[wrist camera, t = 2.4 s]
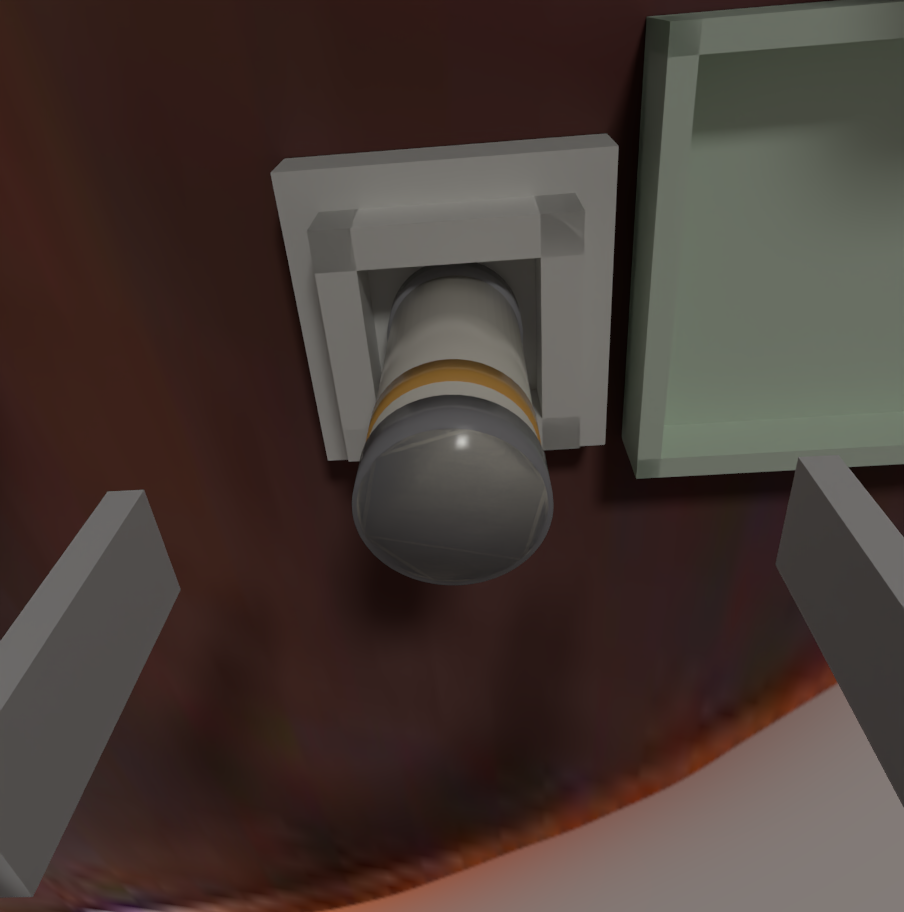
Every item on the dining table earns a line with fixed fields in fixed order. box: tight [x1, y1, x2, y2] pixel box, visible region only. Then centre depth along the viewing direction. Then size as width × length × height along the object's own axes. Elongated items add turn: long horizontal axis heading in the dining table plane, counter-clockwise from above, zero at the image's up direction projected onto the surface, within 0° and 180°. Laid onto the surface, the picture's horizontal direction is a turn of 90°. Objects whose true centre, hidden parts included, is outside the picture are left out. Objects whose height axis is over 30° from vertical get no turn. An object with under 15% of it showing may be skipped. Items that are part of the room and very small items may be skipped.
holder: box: [271, 134, 619, 462], centre depth 24 cm, size 10×10×4 cm
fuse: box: [352, 262, 553, 585], centre depth 20 cm, size 4×4×10 cm
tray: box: [622, 0, 904, 479], centre depth 23 cm, size 14×14×3 cm
